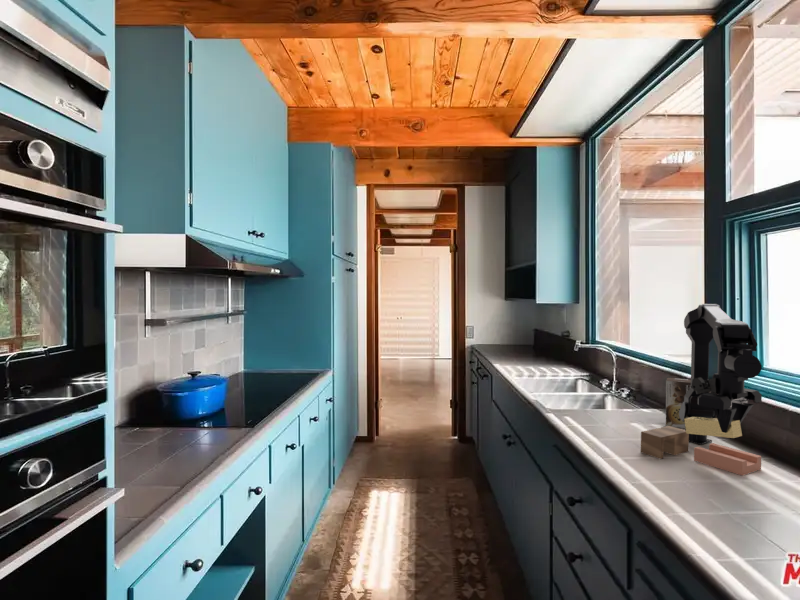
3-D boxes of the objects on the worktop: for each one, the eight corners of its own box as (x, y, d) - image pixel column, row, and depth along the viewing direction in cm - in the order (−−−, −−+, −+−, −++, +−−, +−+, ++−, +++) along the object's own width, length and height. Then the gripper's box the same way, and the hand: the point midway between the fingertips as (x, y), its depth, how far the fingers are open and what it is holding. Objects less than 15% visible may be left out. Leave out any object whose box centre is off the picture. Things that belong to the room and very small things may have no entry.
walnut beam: (668, 445, 144) (668, 425, 143) (688, 451, 138) (688, 431, 138) (640, 452, 137) (641, 431, 137) (660, 458, 132) (661, 437, 132)
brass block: (686, 433, 130) (684, 418, 131) (695, 431, 132) (692, 416, 133) (733, 438, 120) (730, 421, 120) (742, 435, 122) (739, 419, 122)
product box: (696, 425, 165) (697, 379, 165) (695, 430, 160) (696, 382, 159) (666, 421, 170) (667, 376, 170) (664, 426, 165) (665, 379, 164)
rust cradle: (712, 455, 135) (713, 443, 135) (761, 469, 125) (761, 456, 125) (694, 460, 131) (694, 447, 131) (742, 475, 120) (742, 461, 120)
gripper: (718, 363, 134) (716, 418, 134) (677, 368, 125) (676, 427, 125) (763, 370, 124) (761, 429, 124) (723, 376, 115) (721, 439, 116)
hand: (729, 431), depth 123 cm, fingers closed on brass block, 4 cm apart
